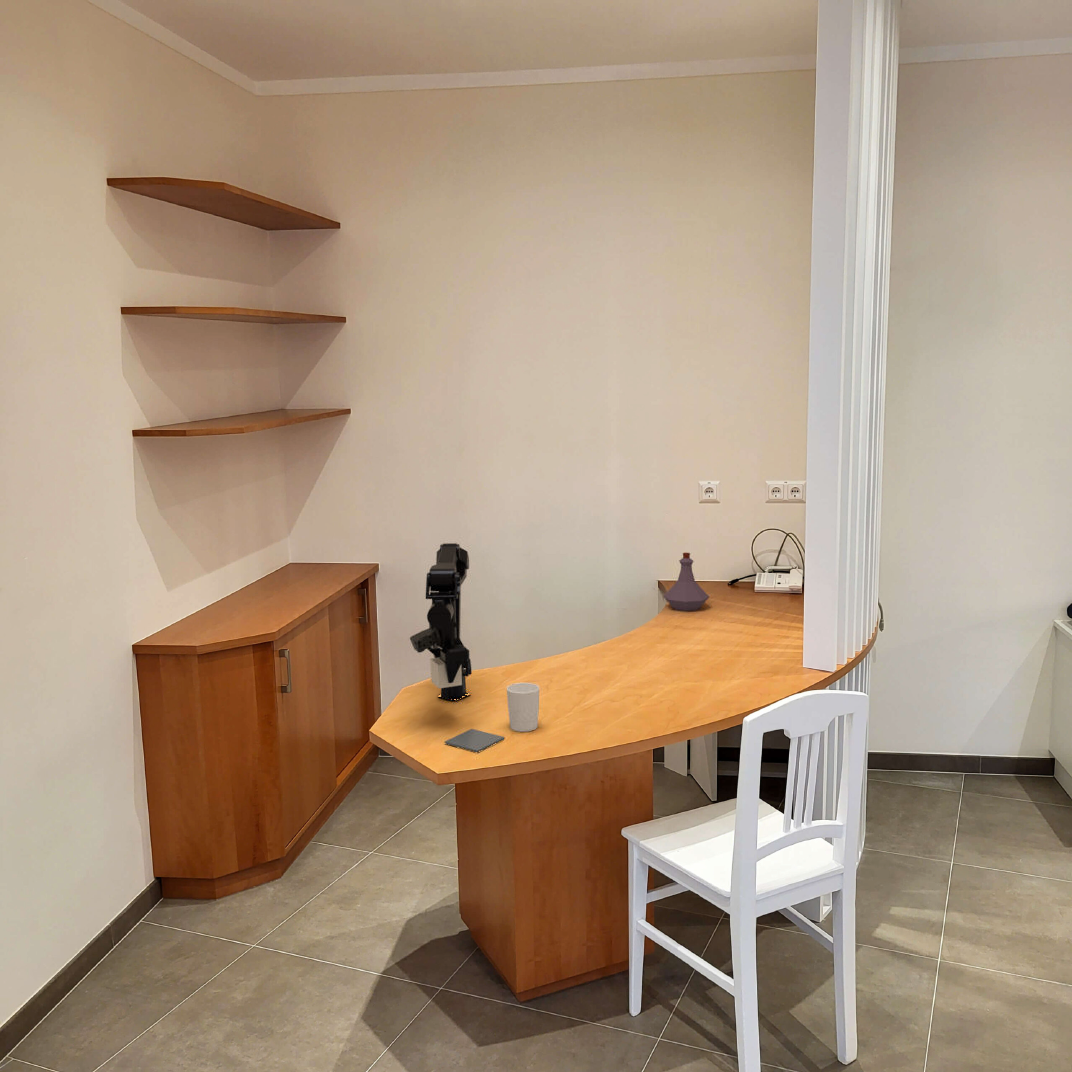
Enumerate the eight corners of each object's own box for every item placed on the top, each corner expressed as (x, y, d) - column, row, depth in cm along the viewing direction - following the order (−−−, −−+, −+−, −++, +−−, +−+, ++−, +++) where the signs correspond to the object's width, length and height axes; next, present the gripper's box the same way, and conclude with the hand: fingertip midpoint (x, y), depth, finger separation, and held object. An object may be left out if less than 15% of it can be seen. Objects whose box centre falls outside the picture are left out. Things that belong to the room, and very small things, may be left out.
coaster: (471, 731, 239) (471, 728, 238) (504, 739, 233) (504, 737, 233) (444, 744, 231) (444, 741, 231) (477, 753, 225) (477, 750, 225)
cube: (431, 681, 248) (430, 658, 247) (453, 678, 250) (453, 655, 249) (438, 688, 243) (438, 664, 242) (461, 684, 245) (461, 661, 244)
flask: (709, 614, 345) (709, 557, 341) (661, 613, 348) (661, 557, 344) (709, 603, 361) (710, 549, 357) (664, 602, 364) (664, 548, 360)
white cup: (539, 720, 245) (538, 682, 243) (540, 732, 237) (540, 692, 235) (507, 721, 244) (506, 683, 243) (507, 733, 237) (506, 693, 235)
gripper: (401, 613, 249) (404, 673, 251) (424, 630, 232) (427, 694, 235) (443, 608, 253) (445, 667, 256) (469, 625, 237) (471, 687, 239)
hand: (446, 679), depth 246 cm, fingers closed on cube, 6 cm apart
